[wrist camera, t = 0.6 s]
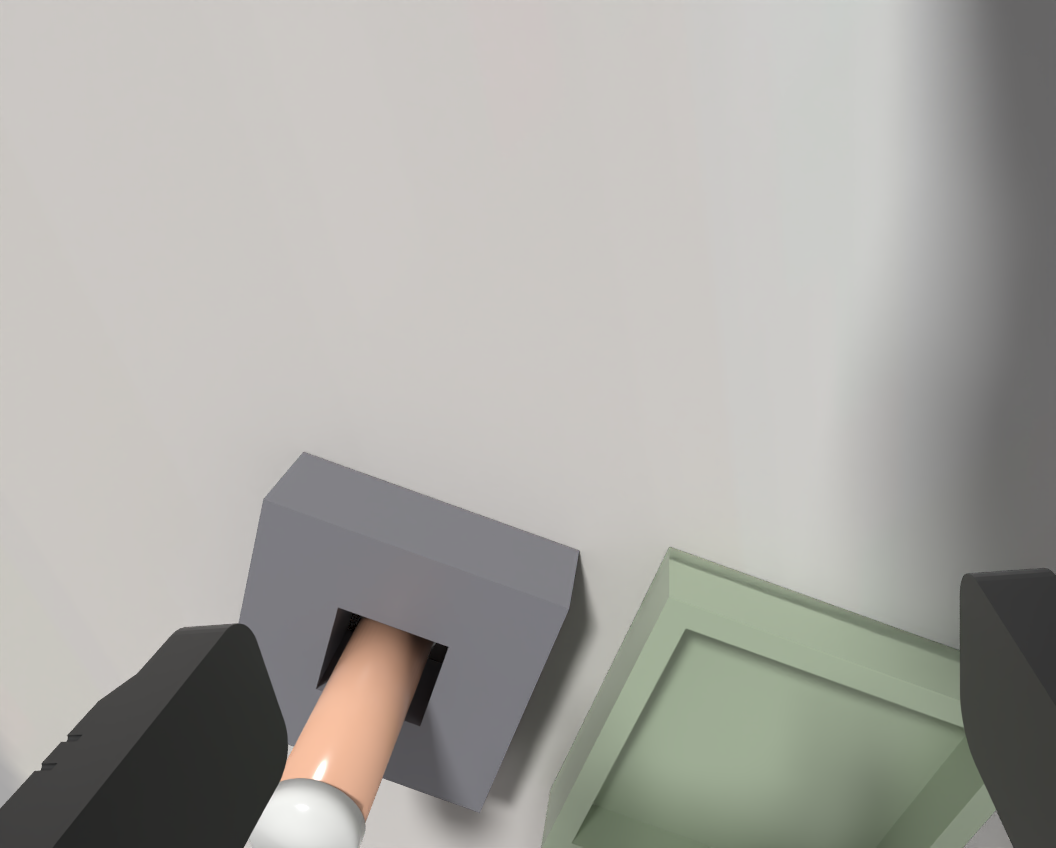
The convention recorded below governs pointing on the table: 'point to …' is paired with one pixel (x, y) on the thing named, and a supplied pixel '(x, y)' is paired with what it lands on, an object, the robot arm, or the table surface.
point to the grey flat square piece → (407, 613)
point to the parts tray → (767, 728)
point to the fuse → (345, 743)
